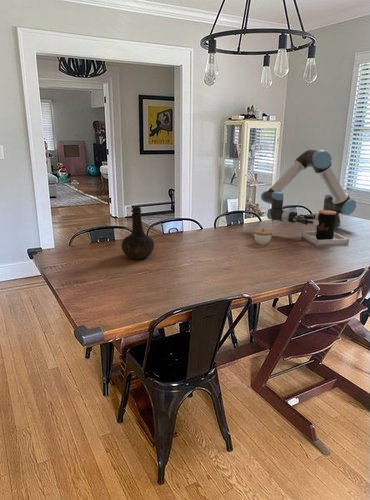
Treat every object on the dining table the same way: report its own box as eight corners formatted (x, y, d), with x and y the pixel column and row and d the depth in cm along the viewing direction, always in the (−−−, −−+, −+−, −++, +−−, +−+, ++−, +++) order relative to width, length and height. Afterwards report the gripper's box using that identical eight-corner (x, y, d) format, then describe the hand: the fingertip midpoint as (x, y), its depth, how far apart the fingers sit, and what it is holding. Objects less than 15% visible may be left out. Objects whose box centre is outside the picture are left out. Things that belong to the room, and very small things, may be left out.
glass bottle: (147, 250, 219) (146, 203, 210) (159, 259, 203) (158, 208, 195) (118, 254, 211) (115, 205, 203) (127, 263, 196) (125, 211, 188)
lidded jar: (266, 246, 227) (267, 231, 224) (250, 243, 233) (251, 229, 231) (274, 243, 235) (275, 228, 233) (258, 240, 242) (259, 226, 239)
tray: (330, 235, 253) (331, 230, 252) (348, 244, 233) (349, 239, 232) (301, 236, 250) (302, 231, 249) (316, 245, 230) (317, 240, 229)
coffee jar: (311, 237, 244) (315, 210, 238) (324, 236, 248) (327, 209, 243) (324, 242, 234) (327, 213, 229) (336, 240, 239) (340, 212, 233)
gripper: (296, 219, 262) (326, 223, 250) (282, 225, 242) (315, 230, 230) (297, 208, 259) (328, 212, 248) (283, 214, 240) (316, 218, 228)
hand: (322, 221), depth 239 cm, fingers open, 13 cm apart
